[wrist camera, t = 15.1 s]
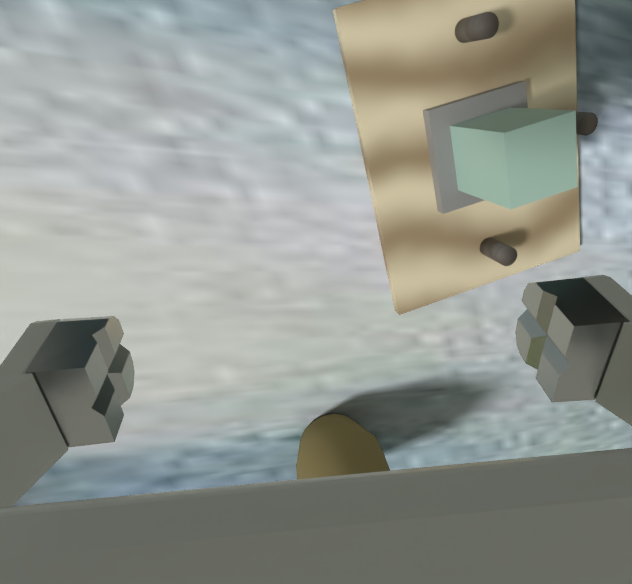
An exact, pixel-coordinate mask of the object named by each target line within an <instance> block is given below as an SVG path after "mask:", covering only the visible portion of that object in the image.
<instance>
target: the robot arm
mask: <svg viewBox="0 0 632 584" xmlns="http://www.w3.org/2000/svg"><path fill="white" fill-rule="evenodd" d="M522 302H523V303H524V305H525V307H526V308H527V310H526V311H525V312H524V313H523V314H522V315H521V316H520V317H519V318H518V321H517V326H516V332H515V333H516V342H517V347H518V350H519V353H520V355H521V357H522V358H523V360H524V361H525V363H526V364H528V365H530V366H532V367H534V368H535V369H537V370H538V371H537V375H536V380H537V381H538V383H539V384H540V386H541V387H542V388H543V390H544V391H545V393H546V394H547V396H548V397H549V399H550V400H551V402H564V401H580V400H596V401H595V402H597V403H598V404H600V405H601V406H603V407H604V408H606V409H607V410H609V411H610V412H612V413H613V414H615V415H616V416H618V417H619V418H621V419H622V420H624V421H625V422H627V423H628V424H630V425H631V426H632V295H630V294H629V293H628V292H627V291H626V290H625V289H623V288H622V287H621V286H620V285H619V284H618V283H617V282H615V281H614V280H613V279H612V278H611V277H608V276H605V275H597V276H589V277H580V278H574V279H564V280H554V281H544V282H535V283H528V284H527V286H526V288H525V290H524V293H523V297H522ZM123 335H124V333H123V330H122V327H121V325H120V322H119V320H118V319H117V318H116V317H114V316H107V317H91V318H74V319H63V320H60V319H57V320H46V321H37V322H34V323H31V324H30V325H29V326H28V328H27V329H26V330H25V332H24V333H23V335H22V336H21V337H20V339H19V340H18V342H17V343H16V344H15V346H14V347H13V349H12V350H11V351H10V353H9V354H8V356H7V357H6V358H5V360H4V361H3V363H2V364H1V365H0V584H632V448H626V449H616V450H605V451H594V452H583V453H573V454H562V455H551V456H540V457H530V458H519V459H508V460H497V461H486V462H476V463H465V464H454V465H443V466H433V467H422V468H412V469H401V470H391V471H380V472H370V473H360V474H349V475H339V476H328V477H318V478H307V479H297V480H287V481H276V482H266V483H255V484H245V485H234V486H224V487H213V488H203V489H192V490H181V491H171V492H160V493H150V494H139V495H129V496H118V497H108V498H97V499H86V500H76V501H65V502H55V503H44V504H34V505H23V506H13V505H14V504H15V503H16V502H17V501H18V500H19V499H20V498H21V497H22V496H23V495H24V494H25V493H26V492H27V491H28V490H29V489H30V488H31V487H32V486H33V485H34V484H35V483H36V482H37V481H38V480H39V479H40V478H41V477H42V476H43V475H44V474H45V473H46V472H47V471H48V470H49V469H50V468H51V467H52V466H53V465H54V464H55V463H56V462H57V461H58V460H59V459H60V458H61V457H62V456H63V455H64V454H65V453H66V452H67V451H68V447H75V446H84V445H92V444H101V443H109V442H115V439H116V436H117V434H118V431H119V428H120V425H121V422H122V419H123V416H124V413H123V411H122V408H121V405H122V404H123V403H124V402H125V401H127V400H128V399H129V398H130V396H131V393H132V390H133V385H134V366H133V360H132V357H131V354H130V351H128V350H127V349H126V348H124V347H123V346H122V345H121V344H120V342H121V339H122V337H123ZM12 506H13V507H12Z"/></svg>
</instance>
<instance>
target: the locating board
mask: <svg viewBox="0 0 632 584" xmlns="http://www.w3.org/2000/svg"><path fill="white" fill-rule="evenodd" d="M333 14H334V18H335V23H336V28H337V33H338V38H339V43H340V47H341V52H342V57H343V62H344V67H345V72H346V76H347V81H348V86H349V91H350V96H351V100H352V105H353V110H354V115H355V120H356V125H357V129H358V134H359V139H360V144H361V149H362V154H363V158H364V163H365V168H366V173H367V178H368V182H369V187H370V192H371V197H372V202H373V207H374V211H375V216H376V221H377V226H378V231H379V236H380V240H381V245H382V250H383V255H384V260H385V264H386V269H387V274H388V279H389V284H390V289H391V293H392V298H393V303H394V308H395V311H396V312H397V313H398V314H399V315H400V314H403V313H406V312H409V311H411V310H414V309H417V308H420V307H423V306H425V305H428V304H431V303H434V302H437V301H440V300H442V299H445V298H448V297H451V296H454V295H457V294H459V293H462V292H465V291H468V290H471V289H473V288H476V287H479V286H482V285H485V284H488V283H490V282H493V281H496V280H499V279H502V278H505V277H507V276H510V275H513V274H516V273H519V272H521V271H524V270H527V269H530V268H533V267H536V266H538V265H541V264H544V263H547V262H550V261H553V260H555V259H558V258H561V257H564V256H567V255H569V254H572V253H575V252H578V251H580V224H579V174H578V134H580V135H589V134H591V133H592V132H593V131H594V130H595V129H596V127H597V123H598V119H597V116H596V115H595V114H594V113H585V112H577V75H576V25H575V0H364V1H360V2H356V3H353V4H349V5H345V6H342V7H338V8H336V9H334V10H333ZM518 81H526V87H527V103H528V108H534V109H555V110H576V144H577V187H576V188H573V189H570V190H567V191H564V192H561V193H558V194H555V195H552V196H549V197H547V198H544V199H541V200H538V201H535V202H532V203H529V204H526V205H523V206H520V207H517V208H514V209H508V208H505V207H503V206H500V205H497V204H494V203H492V202H489V201H486V200H484V201H481V202H478V203H475V204H472V205H469V206H466V207H463V208H460V209H457V210H454V211H451V212H448V213H445V214H442V213H440V212H438V210H437V204H436V197H435V190H434V184H433V177H432V170H431V164H430V157H429V150H428V143H427V137H426V130H425V123H424V117H423V110H425V109H429V108H432V107H435V106H439V105H442V104H445V103H448V102H452V101H455V100H458V99H462V98H465V97H468V96H472V95H475V94H478V93H481V92H485V91H488V90H491V89H495V88H498V87H501V86H505V85H508V84H511V83H514V82H518Z"/></svg>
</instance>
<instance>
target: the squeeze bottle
mask: <svg viewBox="0 0 632 584" xmlns="http://www.w3.org/2000/svg"><path fill="white" fill-rule="evenodd" d="M296 469H297V479H307V478H318V477H328V476H339V475H349V474H360V473H370V472H380V471H390V469H389V466H388V464H387V461H386V459H385V456H384V453H383V451H382V448H381V446H380V444H379V442H378V440H377V438H376V437H375V436H374V435H372V434H371V433H370V432H368V431H367V430H366V429H364V428H363V427H362V426H360V425H359V424H358V423H356V422H355V421H353V420H352V419H350V418H349V417H347V416H346V415H340V414H330V415H325V416H322V417H320V418H318V419H316V420H314V421H313V422H312V423H311V424H310V425H309V426H308V427H307V428H306V429H305V430H304V432H303V435H302V437H301V440H300V445H299V452H298V458H297V464H296Z"/></svg>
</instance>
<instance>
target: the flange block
mask: <svg viewBox="0 0 632 584" xmlns="http://www.w3.org/2000/svg"><path fill="white" fill-rule="evenodd" d="M423 117H424V123H425V130H426V137H427V143H428V150H429V157H430V164H431V170H432V177H433V184H434V190H435V197H436V204H437V210H438V212H440V213H442V214H445V213H448V212H451V211H454V210H457V209H460V208H463V207H466V206H469V205H472V204H475V203H478V202H481V201H484V200H486V201H489V202H492V203H494V204H497V205H500V206H503V207H505V208H508V209H514V208H517V207H520V206H523V205H526V204H529V203H532V202H535V201H538V200H541V199H544V198H547V197H549V196H552V195H555V194H558V193H561V192H564V191H567V190H570V189H573V188H576V187H577V144H576V110H555V109H534V108H528V103H527V87H526V81H518V82H514V83H511V84H508V85H505V86H501V87H498V88H495V89H491V90H488V91H485V92H481V93H478V94H475V95H472V96H468V97H465V98H462V99H458V100H455V101H452V102H448V103H445V104H442V105H439V106H435V107H432V108H429V109H425V110H423Z"/></svg>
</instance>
